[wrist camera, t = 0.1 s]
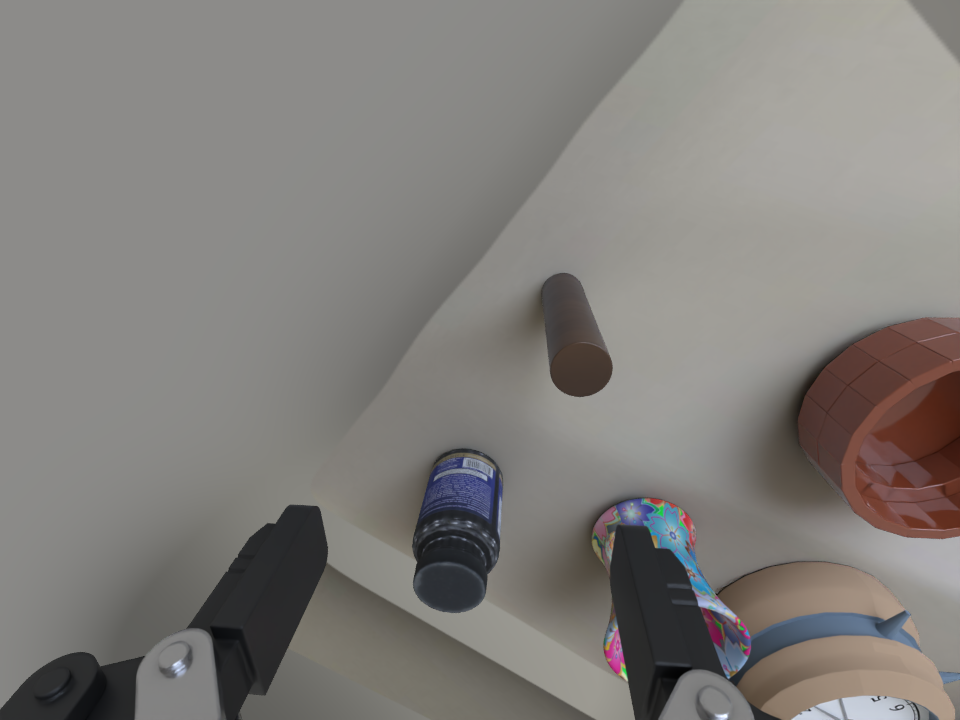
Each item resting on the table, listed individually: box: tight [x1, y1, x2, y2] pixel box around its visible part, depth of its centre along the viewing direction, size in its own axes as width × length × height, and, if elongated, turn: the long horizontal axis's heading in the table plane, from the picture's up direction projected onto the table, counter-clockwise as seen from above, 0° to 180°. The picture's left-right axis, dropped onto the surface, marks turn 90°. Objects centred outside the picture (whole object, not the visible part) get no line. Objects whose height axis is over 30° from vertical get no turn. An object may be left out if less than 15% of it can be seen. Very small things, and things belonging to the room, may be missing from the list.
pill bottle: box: [412, 449, 503, 613], centre depth 34 cm, size 6×6×11 cm
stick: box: [542, 273, 613, 397], centre depth 27 cm, size 3×3×12 cm
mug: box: [592, 498, 751, 682], centre depth 35 cm, size 12×9×11 cm
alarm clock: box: [717, 562, 960, 720], centre depth 41 cm, size 17×9×23 cm
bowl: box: [798, 318, 960, 539], centre depth 31 cm, size 14×14×6 cm
